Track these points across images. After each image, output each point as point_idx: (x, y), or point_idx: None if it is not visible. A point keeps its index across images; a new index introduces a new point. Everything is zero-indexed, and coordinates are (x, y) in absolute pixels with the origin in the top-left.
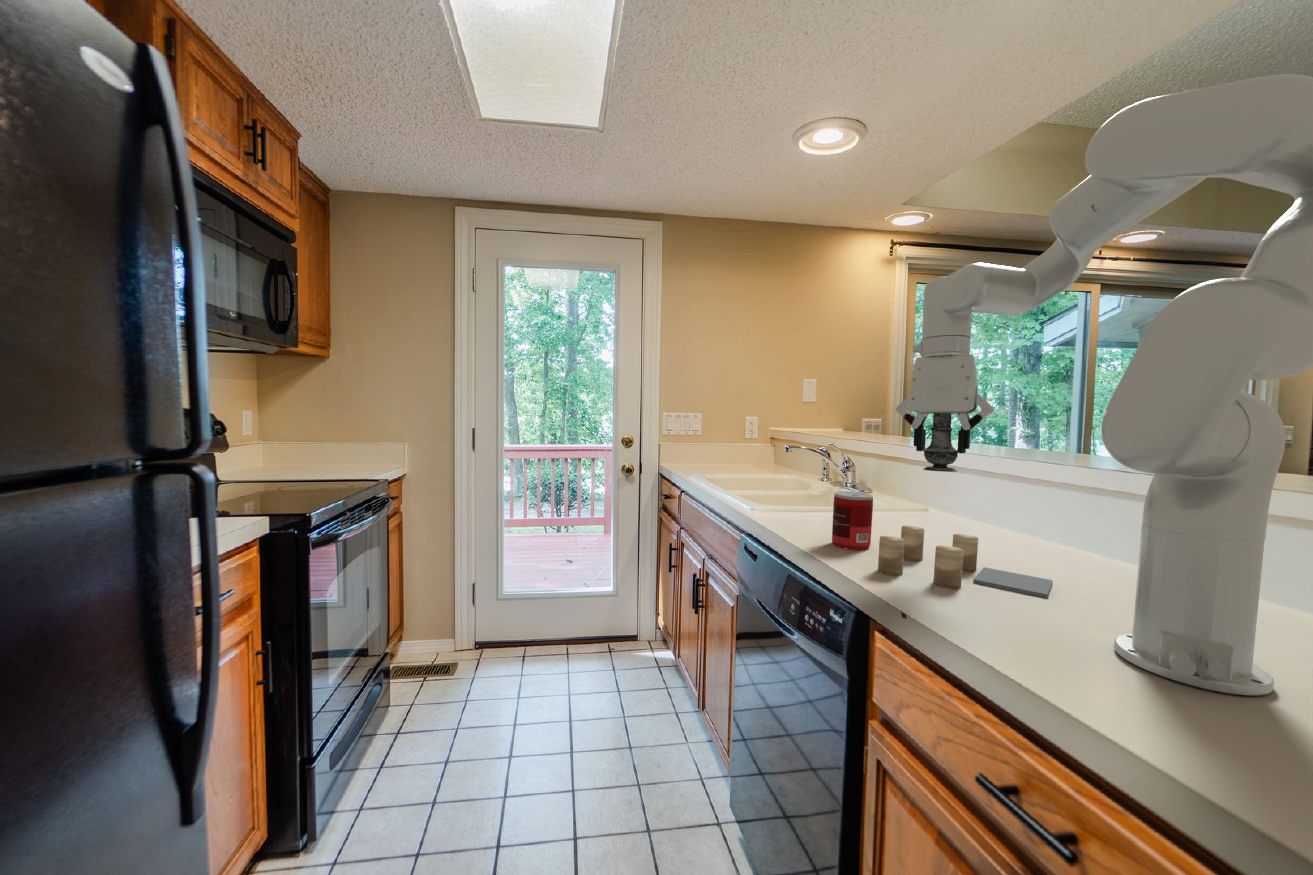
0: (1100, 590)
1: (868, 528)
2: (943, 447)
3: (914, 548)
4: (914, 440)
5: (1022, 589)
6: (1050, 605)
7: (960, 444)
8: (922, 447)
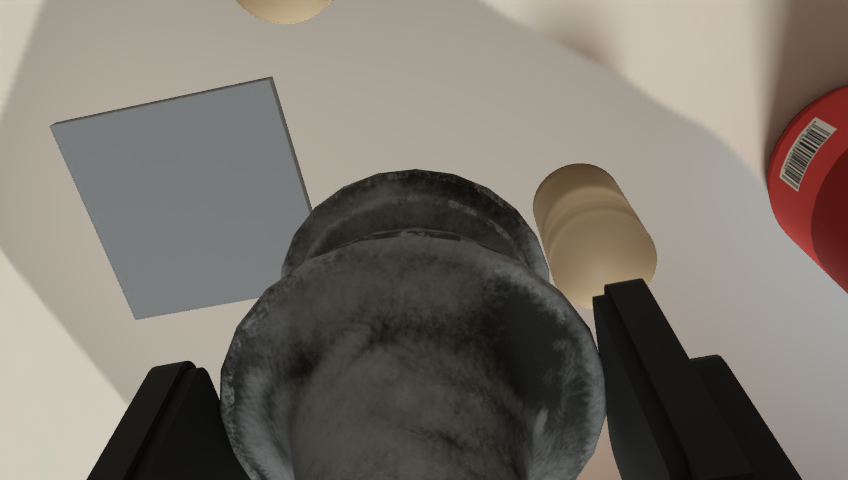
0: (42, 364)
1: (809, 202)
2: (328, 348)
3: (559, 193)
4: (729, 386)
5: (118, 111)
6: (7, 45)
7: (136, 417)
8: (607, 377)
